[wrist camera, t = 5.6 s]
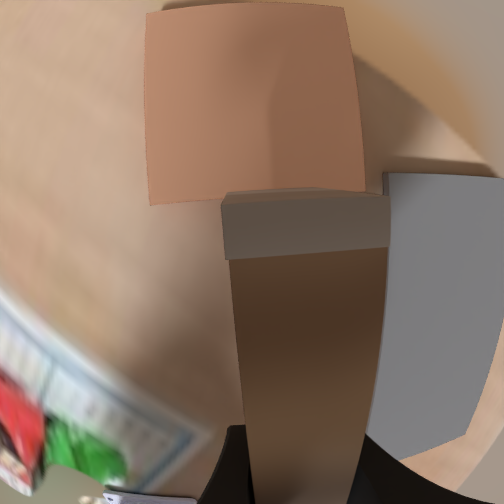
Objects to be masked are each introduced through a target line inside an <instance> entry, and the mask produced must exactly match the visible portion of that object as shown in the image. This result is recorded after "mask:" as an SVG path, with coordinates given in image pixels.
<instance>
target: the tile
mask: <svg viewBox="0 0 504 504" xmlns="http://www.w3.org/2000/svg"><path fill="white" fill-rule="evenodd" d="M144 107H145V139H146V159H147V175H148V188H149V200H150V205H158V204H168V203H178V202H188V201H199V200H211V199H223V198H225V196H226V194H227V192H235V191H249V190H265V189H282V188H302V187H318V188H327V189H336V190H345V191H354V192H360V191H366V187H365V167H364V152H363V139H362V128H361V117H360V108H359V99H358V91H357V84H356V76H355V69H354V63H353V57H352V50H351V45H350V39H349V34H348V28H347V23H346V18H345V14H344V9H343V8H341V7H333V6H324V5H313V4H299V3H276V2H249V3H225V4H211V5H201V6H192V7H184V8H176V9H170V10H164V11H158V12H152V13H147V14H146V32H145V62H144Z"/></svg>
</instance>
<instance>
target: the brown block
mask: <svg viewBox="0 0 504 504" xmlns="http://www.w3.org/2000/svg"><path fill="white" fill-rule="evenodd" d="M221 212H222V225H223V237H224V249H225V260H229V266H230V278H231V289H232V300H233V310H234V321H235V331H236V341H237V351H238V361H239V370H240V380H241V389H242V398H243V407H244V416H245V424H246V433H247V441H248V449H249V457H250V465H251V473H252V481H253V489H254V496H255V504H346V503H347V500H348V496H349V493H350V490H351V486H352V483H353V479H354V476H355V472H356V469H357V465H358V461H359V457H360V453H361V449H362V445H363V440H364V436H365V432H366V427H367V422H368V417H369V412H370V407H371V402H372V397H373V391H374V385H375V379H376V373H377V366H378V359H379V352H380V344H381V335H382V326H383V316H384V305H385V293H386V277H387V256H388V247H390V245H391V196H384V195H377V194H369V193H362V192H354V191H345V190H336V189H327V188H318V187H302V188H282V189H265V190H249V191H235V192H227V194H226V196H225V198H224V200H223V202H222V204H221Z"/></svg>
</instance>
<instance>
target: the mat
mask: <svg viewBox="0 0 504 504" xmlns="http://www.w3.org/2000/svg"><path fill="white" fill-rule="evenodd" d="M383 187H384V196H391V245H390V247H388V256H387V277H386V293H385V305H384V316H383V326H382V335H381V344H380V352H379V359H378V366H377V373H376V379H375V385H374V391H373V397H372V402H371V407H370V412H369V417H368V422H367V427H366V432H365V433H366V434H367V435H368V436H369V437H370V438H371V439H372V440H373V441H374V442H376V443H377V444H378V445H379V446H380V447H381V448H383V449H384V450H385V451H386V452H387V453H389V454H390V455H391V456H392V457H394V458H395V459H396V460H401V459H404V458H407V457H410V456H413V455H416V454H419V453H421V452H424V451H427V450H429V449H432V448H434V447H437V446H439V445H442V444H444V443H447V442H449V441H451V440H454V439H456V438H458V437H460V436H462V435H465V433H466V431H467V428H468V426H469V424H470V422H471V419H472V417H473V414H474V412H475V409H476V407H477V404H478V402H479V399H480V396H481V394H482V391H483V388H484V385H485V382H486V379H487V376H488V373H489V370H490V367H491V364H492V361H493V357H494V354H495V350H496V346H497V343H498V339H499V335H500V331H501V327H502V322H503V318H504V179H503V178H492V177H479V176H464V175H446V174H421V173H383Z"/></svg>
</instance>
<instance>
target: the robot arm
mask: <svg viewBox="0 0 504 504" xmlns="http://www.w3.org/2000/svg"><path fill="white" fill-rule="evenodd" d="M103 496H104V497H105V498H106V500H107V501H108V503H109V504H255V496H254V489H253V481H252V473H251V465H250V457H249V449H248V441H247V433H246V425H233V426H230V427H228V428H227V434H226V439H225V442H224V446H223V449H222V452H221V455H220V457H219V460H218V462H217V465H216V467H215V469H214V472H213V474H212V476H211V478H210V480H209V482H208V484H207V486H206V488H205V490H204V492H203V494H202V495H201V497H200V499H199V501H198V502H197V501H196V500H195V499H192V498H176V497H160V496H149V495H139V494H131V493H123V492H116V491H110V490H104V491H103ZM346 504H493V503H488V502H483V501H479V500H476V499H472V498H469V497H465V496H463V495H460V494H458V493H455V492H453V491H450V490H448V489H445V488H443V487H441V486H439V485H437V484H435V483H433V482H431V481H429V480H427V479H425V478H423V477H422V476H420V475H418V474H417V473H415V472H413V471H412V470H410V469H409V468H407V467H406V466H404V465H403V464H402V463H400V462H399V461H398V460H396V459H395V458H394V457H392V456H391V455H390V454H389V453H387V452H386V451H385V450H384V449H383V448H381V447H380V446H379V445H378V444H377V443H376V442H374V441H373V440H372V439H371V438H370V437H369V436H368V435H367V434H366V433H365V436H364V440H363V445H362V449H361V453H360V457H359V461H358V465H357V469H356V472H355V476H354V479H353V483H352V486H351V490H350V493H349V496H348V500H347V503H346Z"/></svg>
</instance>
